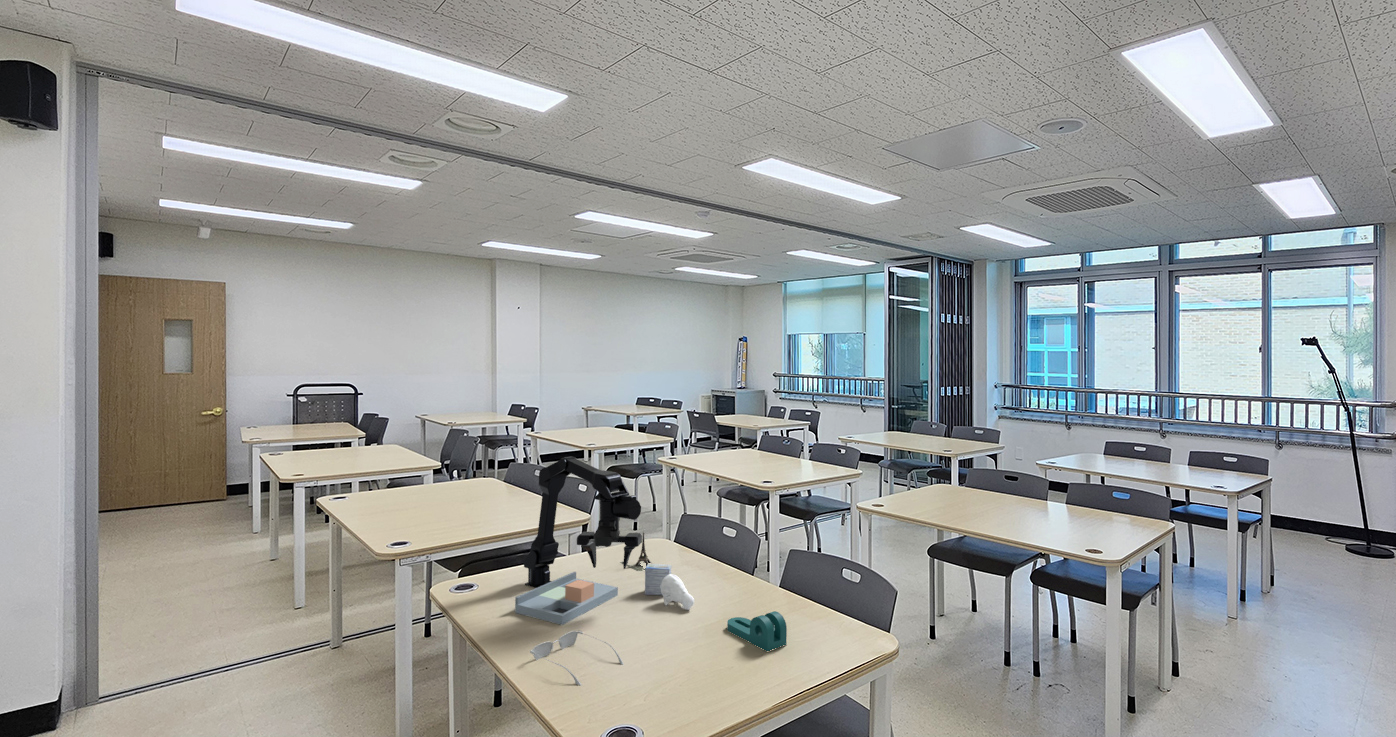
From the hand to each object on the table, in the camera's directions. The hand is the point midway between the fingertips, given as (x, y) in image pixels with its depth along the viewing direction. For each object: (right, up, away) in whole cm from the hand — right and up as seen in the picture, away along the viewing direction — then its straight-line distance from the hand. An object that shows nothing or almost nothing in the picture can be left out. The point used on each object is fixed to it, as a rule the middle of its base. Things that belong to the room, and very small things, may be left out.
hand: (609, 567), depth 187 cm
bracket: (+41, -13, -19) cm, 47 cm away
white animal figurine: (+21, -12, +2) cm, 24 cm away
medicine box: (+14, -12, +13) cm, 22 cm away
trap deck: (-13, -12, +3) cm, 18 cm away
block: (-9, -9, +1) cm, 13 cm away
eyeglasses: (-3, -13, -35) cm, 37 cm away
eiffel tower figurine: (+6, -13, +41) cm, 43 cm away
